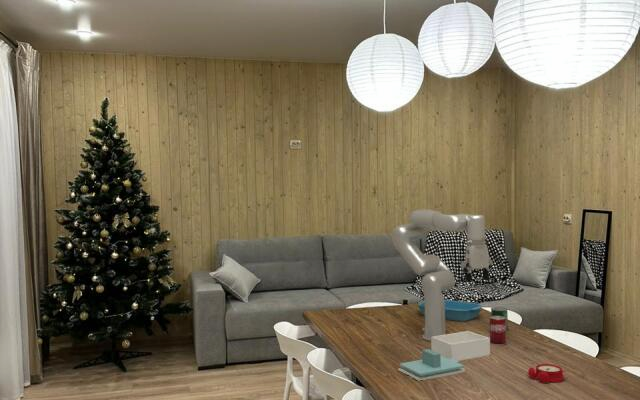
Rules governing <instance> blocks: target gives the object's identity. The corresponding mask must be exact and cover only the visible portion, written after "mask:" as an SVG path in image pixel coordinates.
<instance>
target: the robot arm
mask: <svg viewBox="0 0 640 400" xmlns="http://www.w3.org/2000/svg"><path fill="white" fill-rule="evenodd" d="M409 221H410V223H407V224H406V223H405V224H400V225H397V226H396V227H394V228H393V230H392V232H391V240H392V244H393V246H394V248H395V250H397V252H398V253H399V254H400V255H401V256H402V257H403V259H404V260H405V261H406V262H407V264H408V265H409V267H410V268H411V269H412V270H413V272H414V273H415V274H416V275H418V276H423V277H422V278H421V279H422V280H421V287H422V290H423V299H424V300H423V301H424V303H425V316H424V327H422V330H421V331H424V333H423V334H422V335H421V338H422V339H423V340H425V341H429V342H431V337H434V336H440V335H446V319H445V301H444V300H445V298H444V296H443V293H442V292H444V291H449V290H452V289H453V288H454V287H455V284H456V278H455V276H454V274H453V273H452V271H451V270H450V268H449V267H448V266H447V265H446V264H445V262H444V261H443V260H442V259H441V258H440V257H439V256H437V255H435V254H424V253H422V251H421V250H420V249H419V247H418V246H417V245H415V244H413V243H412V241H418V240H421V239H423V237H424V236H426V234H428V232H430V231H431V230H432V229H434V230H438V231H443V232H462V231H463V232H464V231H467V234H466V235H467V240H466V241H465V244H466V248H465V257H464V258H465V260H463V261H462V262H461V263H460V264H459V265H460V267H461V270H462V271H463V273H465V275H464V277H465V282H466V283H472V273H471V272H472V270H473V269H474V270H477V269H479V270H480V269H482V280H484V281H489V280H490V275H489V272H490V271H491V269H492V266H493V263H494V261H493V260H492V259H490V258H489V257H490V256H489V250H488V246H487V245H486V229H485V227H486V223H485V221H486V220H485V216H484V215H483V214H469V213H468V214H467V213H461V214H460V213H458V214H457V213H456V214H443V213H442V212H441V211H438V210H432V209H430V208H429V209H428V208H427V209H425V208H424V209H416V210H414V211H412V212H411V213H410V215H409Z"/></svg>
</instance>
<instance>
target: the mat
mask: <svg viewBox="0 0 640 400" xmlns="http://www.w3.org/2000/svg"><path fill="white" fill-rule="evenodd" d="M398 370H399V371H401V372H403V373H405V374H407V375H409V376H411V377H412V378H411V377H410V378H411V379H413V378H414V379H416V380H418V381H417V382H421V381H420V380H423V381H427V379H428V380H431V379H437V378H442V377H448V376H453V375H457V374H463V373H466V369H465V368H459V370H455V371H450V372H445V373H440V374H435V375H429V376H424V377H420V376H418V375H416V374H414V373H412V372H410V371H408V370H406V369H404V368H403V367H400V368H397V371H398ZM399 371H398V372H399ZM401 372H400V373H401ZM403 373H402V374H403ZM405 374H404V375H405ZM407 375H406V376H407ZM409 376H408V377H409ZM414 379H413V380H414ZM416 380H415V381H416Z"/></svg>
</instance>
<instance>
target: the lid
mask: <svg viewBox="0 0 640 400" xmlns="http://www.w3.org/2000/svg"><path fill="white" fill-rule="evenodd" d="M421 353H422V354H421V358H422V359H418V360H412V361H407V362H401V363H399V367H400V368H404V369H406V370H408V371H410V372H412V373H414V374H416V375H418V376H420V377H424V376H429V375H435V374H440V373H445V372H450V371H455V370H459V368H463V369H465V365H464V364H461V363H460V361H457V360H454V359H447V358H445V357H442V356H440V354H439V353H437V352H434V351H432V350H431V349H429V348H428V349H427V348H426V349H422V350H421Z"/></svg>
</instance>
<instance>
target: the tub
mask: <svg viewBox="0 0 640 400" xmlns="http://www.w3.org/2000/svg"><path fill="white" fill-rule="evenodd" d="M445 334H446V333H445ZM430 342H431V343H430V344H431V347H430V348H431V349H430V350H432V351H434V352H437V353H439V354H440V356H442V357H445V358H447V359H454V360H457V361H459V362H460V361H465V360H466V361H467V360H470V359H476V358H480V357H481V358H482V357H486V356H490V355H491V343H490V337H488V336H485V335H482V334H479V333H476V332H473V331H470V330H465V331H460V332H454V333H453V332H452V333H447V334H446V335H440V336H434V337H431V341H430Z"/></svg>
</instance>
